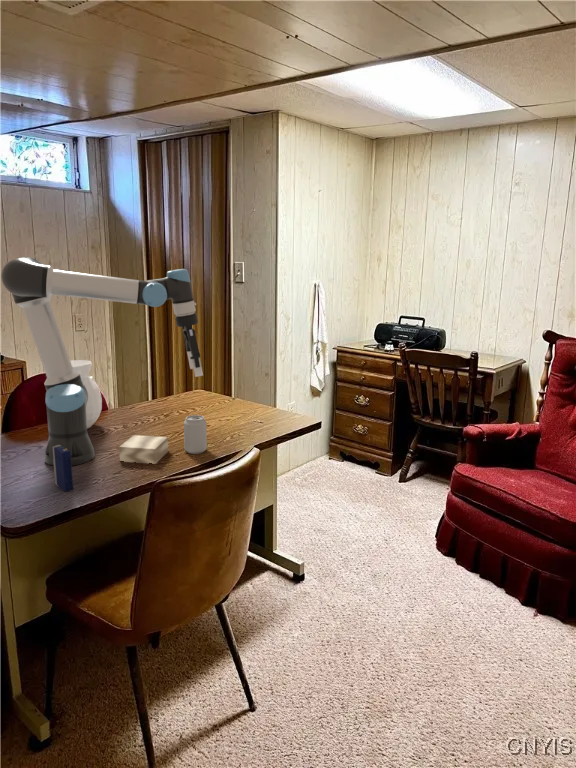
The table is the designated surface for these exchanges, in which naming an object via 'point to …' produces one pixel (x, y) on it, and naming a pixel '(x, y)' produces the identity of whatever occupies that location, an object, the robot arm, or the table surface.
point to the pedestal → (143, 449)
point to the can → (195, 434)
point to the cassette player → (62, 468)
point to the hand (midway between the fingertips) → (196, 372)
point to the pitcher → (89, 390)
